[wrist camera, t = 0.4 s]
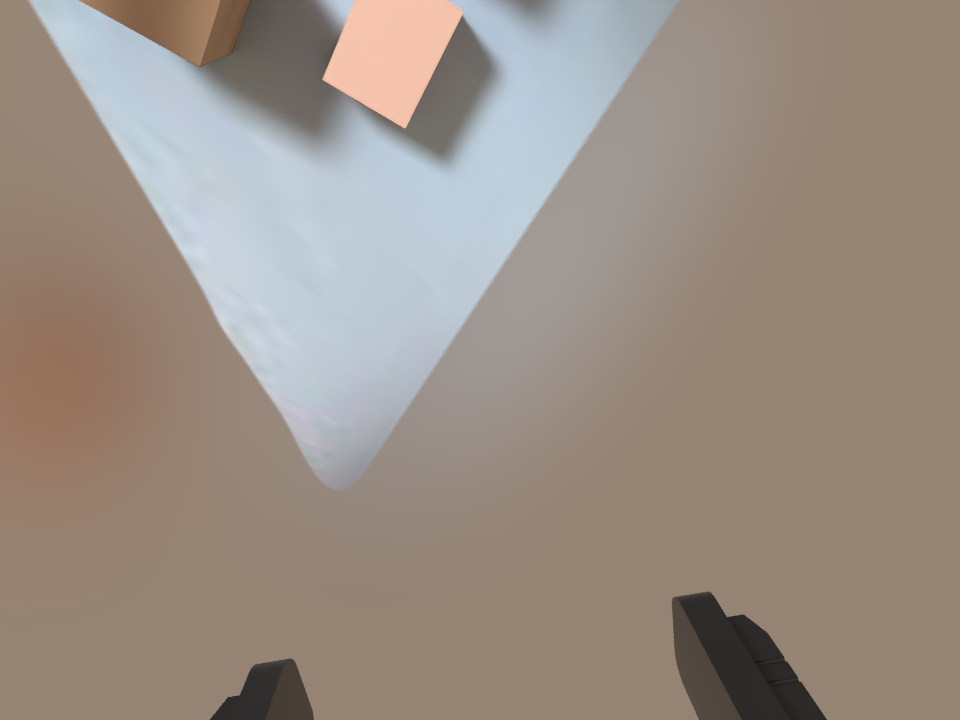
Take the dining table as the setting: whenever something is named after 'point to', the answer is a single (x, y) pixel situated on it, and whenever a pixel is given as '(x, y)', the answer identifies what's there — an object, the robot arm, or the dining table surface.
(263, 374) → the dining table surface
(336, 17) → the dining table surface
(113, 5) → the block
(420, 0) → the light box
